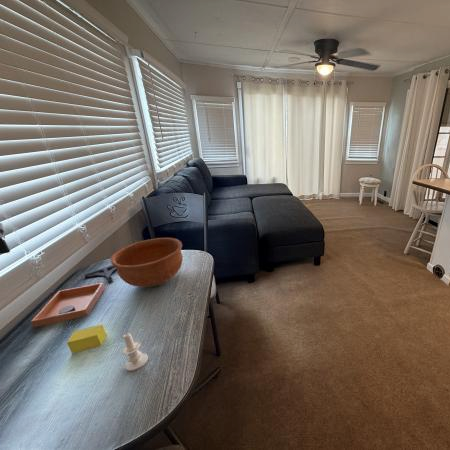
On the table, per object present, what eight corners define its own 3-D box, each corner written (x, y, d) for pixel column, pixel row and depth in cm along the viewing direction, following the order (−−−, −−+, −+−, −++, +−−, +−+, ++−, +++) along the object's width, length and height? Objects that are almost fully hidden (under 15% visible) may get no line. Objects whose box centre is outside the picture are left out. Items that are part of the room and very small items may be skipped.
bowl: (185, 261, 117) (179, 233, 112) (192, 287, 97) (184, 254, 91) (124, 276, 106) (114, 245, 100) (117, 309, 85) (104, 273, 80)
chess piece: (130, 356, 67) (119, 327, 63) (150, 352, 68) (141, 323, 64) (121, 373, 62) (109, 343, 58) (143, 369, 63) (133, 339, 59)
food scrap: (59, 319, 80) (57, 314, 80) (62, 312, 83) (60, 308, 83) (74, 315, 82) (72, 310, 82) (77, 308, 85) (75, 303, 85)
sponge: (71, 353, 68) (66, 342, 67) (78, 341, 72) (74, 331, 71) (101, 345, 71) (97, 335, 69) (106, 334, 74) (102, 324, 73)
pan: (34, 328, 77) (30, 321, 76) (61, 297, 92) (58, 290, 91) (88, 316, 82) (85, 309, 81) (105, 288, 97) (103, 282, 96)
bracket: (89, 291, 96) (87, 285, 95) (85, 276, 106) (83, 271, 105) (131, 276, 105) (129, 271, 104) (123, 264, 115) (122, 259, 114)
